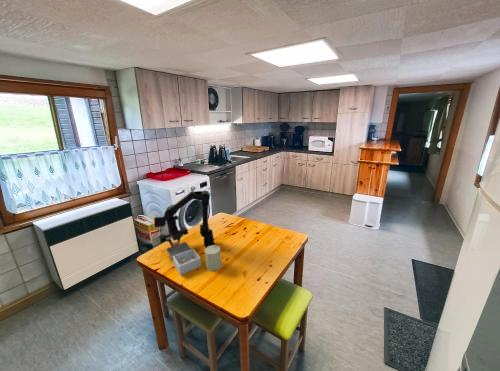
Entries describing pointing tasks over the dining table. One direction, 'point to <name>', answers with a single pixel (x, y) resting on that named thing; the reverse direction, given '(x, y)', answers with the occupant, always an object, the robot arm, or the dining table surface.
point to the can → (213, 257)
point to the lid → (177, 248)
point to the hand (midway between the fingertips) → (175, 245)
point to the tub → (186, 261)
